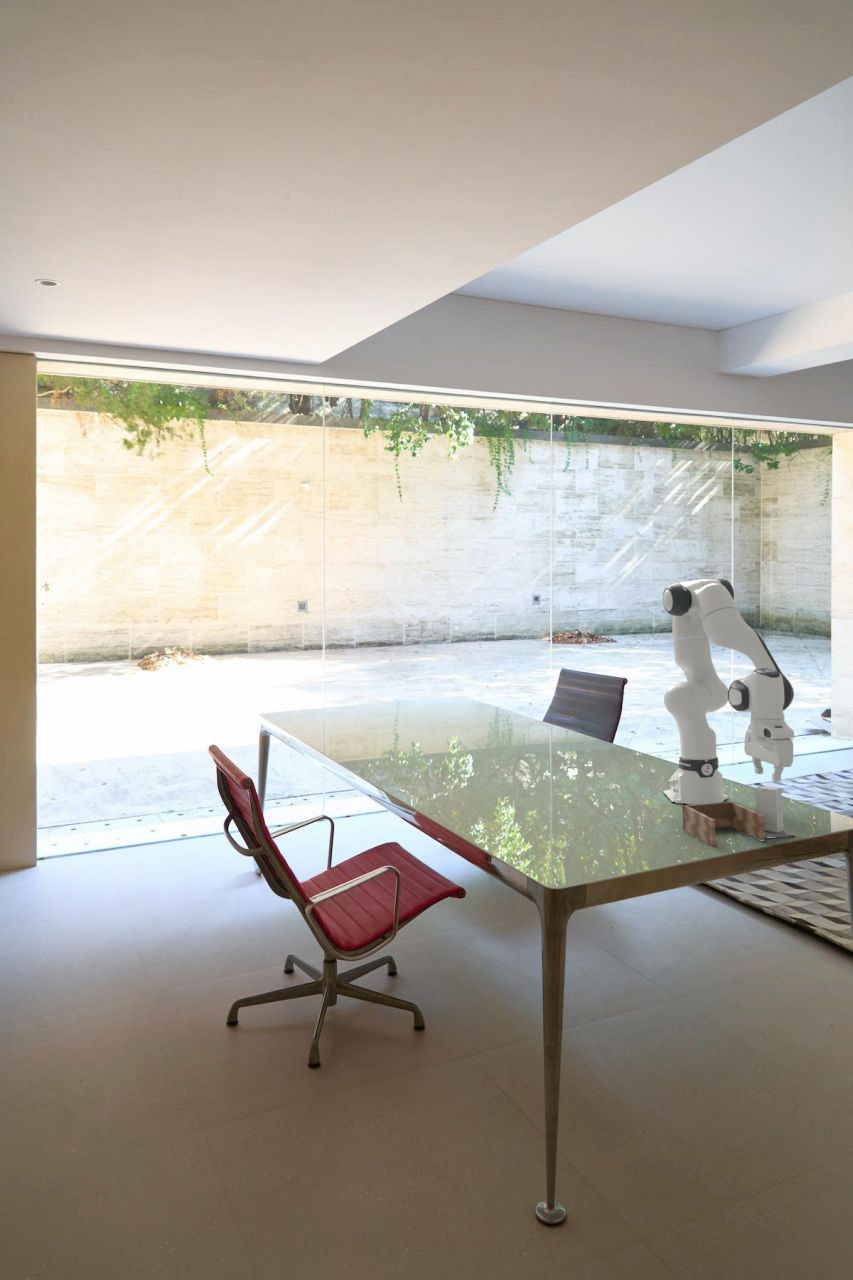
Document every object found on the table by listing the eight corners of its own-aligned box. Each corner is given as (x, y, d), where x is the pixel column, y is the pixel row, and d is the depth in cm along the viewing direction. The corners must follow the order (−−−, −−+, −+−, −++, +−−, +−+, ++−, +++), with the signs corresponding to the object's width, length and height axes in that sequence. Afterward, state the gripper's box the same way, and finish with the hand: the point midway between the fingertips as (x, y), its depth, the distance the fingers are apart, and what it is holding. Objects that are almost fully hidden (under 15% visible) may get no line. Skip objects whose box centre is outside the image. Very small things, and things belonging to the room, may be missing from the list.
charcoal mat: (746, 828, 264) (746, 826, 264) (772, 826, 265) (772, 824, 265) (767, 838, 252) (767, 837, 252) (795, 836, 253) (795, 834, 253)
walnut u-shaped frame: (683, 829, 265) (682, 805, 265) (732, 825, 267) (732, 801, 267) (712, 846, 247) (711, 820, 247) (764, 841, 249) (763, 815, 249)
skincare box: (784, 830, 258) (782, 787, 257) (777, 833, 255) (776, 790, 254) (762, 827, 262) (761, 784, 261) (755, 830, 259) (754, 787, 258)
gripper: (738, 722, 267) (738, 770, 268) (775, 734, 247) (775, 785, 247) (759, 721, 268) (759, 768, 269) (797, 732, 247) (797, 784, 248)
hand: (767, 777), depth 258 cm, fingers open, 8 cm apart
